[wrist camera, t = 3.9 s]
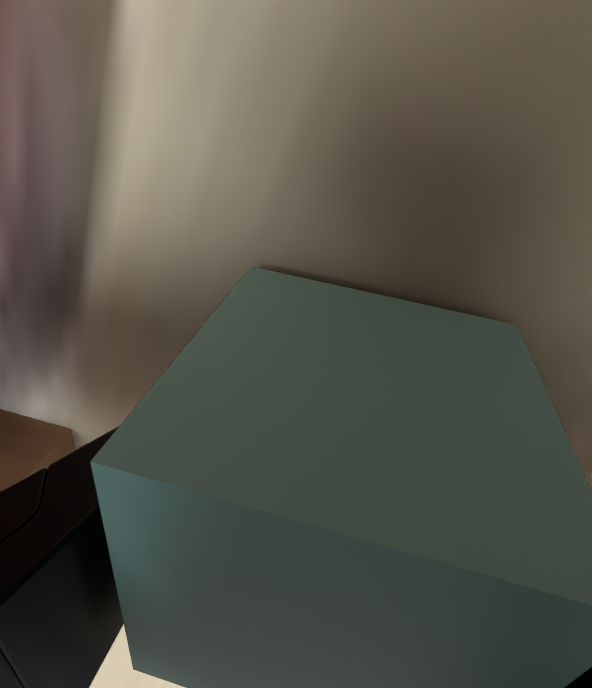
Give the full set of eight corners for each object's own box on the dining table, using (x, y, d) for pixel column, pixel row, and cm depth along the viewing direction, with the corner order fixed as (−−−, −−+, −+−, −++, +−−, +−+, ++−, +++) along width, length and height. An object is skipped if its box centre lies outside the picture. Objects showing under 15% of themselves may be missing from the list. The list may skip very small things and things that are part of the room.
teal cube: (517, 325, 8) (650, 622, 3) (431, 497, 10) (446, 777, 6) (251, 266, 8) (90, 461, 4) (237, 445, 11) (133, 670, 7)
